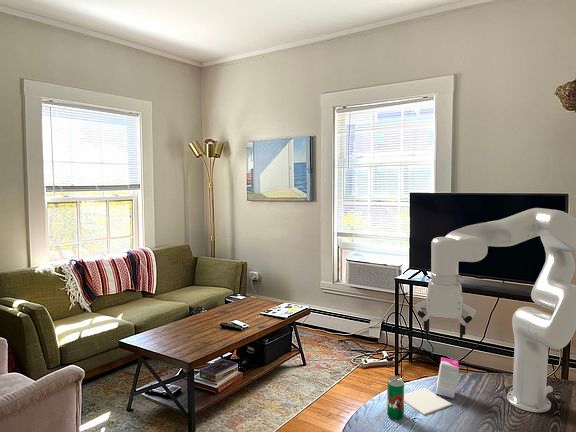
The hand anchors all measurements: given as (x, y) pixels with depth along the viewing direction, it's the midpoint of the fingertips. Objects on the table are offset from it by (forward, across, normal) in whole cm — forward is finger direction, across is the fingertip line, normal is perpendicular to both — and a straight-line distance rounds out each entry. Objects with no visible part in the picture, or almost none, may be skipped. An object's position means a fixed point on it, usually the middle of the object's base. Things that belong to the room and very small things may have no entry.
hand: (444, 334), depth 133 cm
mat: (+27, +7, -8) cm, 29 cm away
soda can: (+27, +14, +4) cm, 31 cm away
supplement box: (+27, +1, -16) cm, 31 cm away
